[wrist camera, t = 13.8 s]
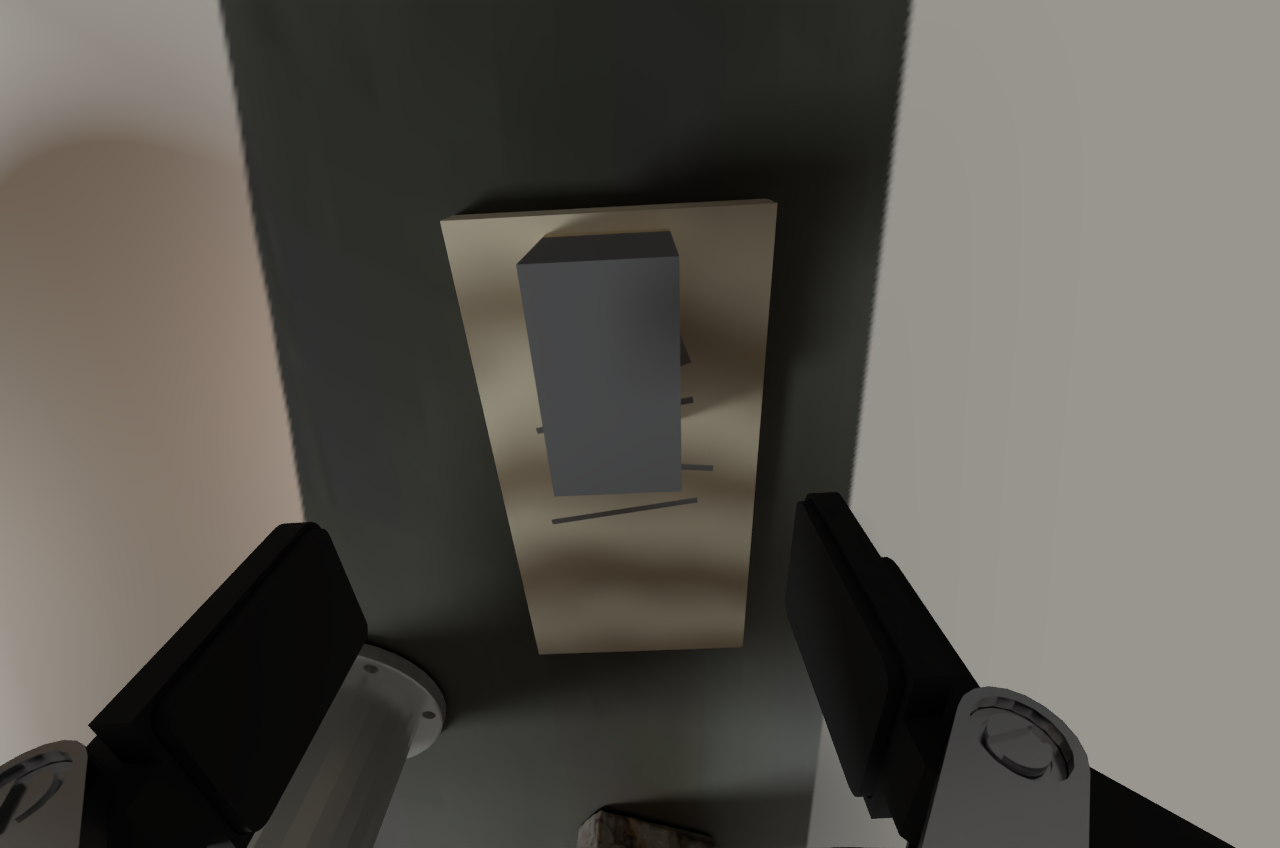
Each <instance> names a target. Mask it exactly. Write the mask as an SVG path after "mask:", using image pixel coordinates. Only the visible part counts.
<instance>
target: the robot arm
mask: <svg viewBox="0 0 1280 848" xmlns="http://www.w3.org/2000/svg"><path fill="white" fill-rule="evenodd" d="M786 610H787V615H788V618H789V621H790V624H791V627H792V630H793V632H794V635H795V638H796V641H797V644H798V646H799V649H800V652H801V655H802V657H803V660H804V663H805V666H806V669H807V671H808V674H809V677H810V680H811V683H812V685H813V688H814V691H815V694H816V696H817V699H818V702H819V705H820V708H821V710H822V713H823V716H824V719H825V721H826V724H827V727H828V730H829V732H830V735H831V738H832V741H833V744H834V746H835V749H836V752H837V755H838V757H839V760H840V763H841V766H842V769H843V771H844V774H845V777H846V780H847V783H848V785H849V788H850V789H851V792H852V793H853V795H854V796H855V797H862V796H863V797H864V800H865V802H866V806H867V808H868V811H869V814H870V816H871V819H877V818H893V820H894V823H895V825H896V828H897V830H898V833H899V835H900V836H901V837H903V838H904V839H905V840H907V845H906V848H1235V847H1233V846H1232V845H1230V844H1228V843H1226V842H1224V841H1222V840H1221V839H1219V838H1217V837H1215V836H1213V835H1212V834H1210V833H1208V832H1206V831H1204V830H1203V829H1201V828H1199V827H1197V826H1195V825H1194V824H1192V823H1190V822H1188V821H1186V820H1185V819H1183V818H1181V817H1179V816H1177V815H1176V814H1174V813H1172V812H1170V811H1168V810H1167V809H1165V808H1163V807H1161V806H1159V805H1158V804H1155V803H1154V802H1152V801H1150V800H1148V799H1147V798H1145V797H1143V796H1141V795H1140V794H1138V793H1136V792H1134V791H1132V790H1130V789H1129V788H1127V787H1125V786H1123V785H1121V784H1120V783H1118V782H1116V781H1114V780H1112V779H1111V778H1109V777H1107V776H1105V775H1103V774H1101V773H1100V772H1098V771H1096V770H1094V769H1093V768H1091V767H1089V763H1088V758H1087V754H1086V753H1085V751H1084V749H1083V747H1082V745H1081V743H1080V742H1079V740H1078V738H1077V737H1076V736H1075V734H1074V733H1073V732H1072V731H1071V730H1070V729H1069V728H1068V726H1067V725H1066V724H1065V723H1064V722H1063V721H1062V720H1061V719H1060V718H1058V717H1057V716H1056V715H1055V714H1054V713H1052V712H1051V711H1050V710H1049V709H1047V708H1046V707H1044V706H1043V705H1041V704H1040V703H1038V702H1036V701H1034V700H1032V699H1031V698H1029V697H1027V696H1025V695H1022V694H1020V693H1017V692H1014V691H1011V690H1008V689H1004V688H997V687H990V686H989V687H982V688H980V687H979V685H978V684H977V682H976V681H975V679H974V678H973V676H972V675H971V673H970V672H969V670H968V669H967V668H966V666H965V664H964V663H963V661H962V660H961V659H960V657H959V656H958V654H957V653H956V651H955V650H954V648H953V647H952V645H951V644H950V642H949V641H948V639H947V638H946V636H945V635H944V634H943V632H942V631H941V629H940V628H939V626H938V625H937V623H936V622H935V620H934V619H933V617H932V616H931V614H930V613H929V611H928V610H927V609H926V607H925V605H924V604H923V603H922V601H921V600H920V598H919V597H918V595H917V593H916V592H915V591H914V589H913V588H912V586H911V585H910V583H909V582H908V580H907V579H906V577H905V576H904V574H903V573H902V571H901V570H900V568H899V567H898V566H897V565H896V563H895V562H894V561H893V560H892V559H890V558H888V557H881V556H880V555H879V553H878V552H877V550H876V549H875V547H874V546H873V544H872V543H871V541H870V539H869V538H868V536H867V535H866V533H865V532H864V530H863V529H862V527H861V526H860V524H859V523H858V521H857V519H856V518H855V516H854V515H853V513H852V512H851V510H850V509H849V507H848V505H847V504H846V502H845V501H844V499H843V498H842V496H841V495H840V494H839V493H837V492H828V493H810V494H808V495H807V496H806V499H805V501H799V502H798V503H797V506H796V514H795V522H794V531H793V540H792V548H791V557H790V566H789V574H788V583H787V592H786ZM367 632H368V627H367V622H366V620H365V617H364V615H363V613H362V610H361V608H360V606H359V603H358V601H357V599H356V596H355V594H354V592H353V589H352V587H351V584H350V582H349V580H348V577H347V575H346V573H345V570H344V568H343V566H342V563H341V561H340V559H339V556H338V554H337V552H336V549H335V547H334V545H333V542H332V540H331V538H330V535H329V533H328V532H327V531H326V530H325V529H321V528H320V526H319V525H318V524H316V523H314V522H303V523H287V524H281V525H279V526H278V527H276V528H275V529H274V530H273V531H272V532H271V533H270V534H269V535H268V536H267V537H266V538H265V540H264V541H263V542H262V543H261V544H260V545H259V546H258V547H257V548H256V549H255V550H254V551H253V552H252V553H251V554H250V555H249V556H248V558H247V559H246V560H245V561H244V562H243V563H242V564H241V565H240V566H239V567H238V568H237V569H236V570H235V571H234V572H233V573H232V574H231V575H230V576H229V578H228V579H227V580H226V581H225V582H224V583H223V584H222V585H221V586H220V587H219V588H218V589H217V590H216V591H215V592H214V593H213V594H212V595H211V596H210V597H209V598H208V600H207V601H206V602H205V603H204V604H203V605H202V606H201V607H200V608H199V609H198V610H197V611H196V612H195V613H194V614H193V615H192V616H191V617H190V619H189V620H188V621H187V622H186V623H185V624H184V625H183V626H182V627H181V628H180V629H179V630H178V631H177V632H176V633H175V634H174V635H173V636H172V637H171V638H170V640H169V641H168V642H167V643H166V644H165V645H164V646H163V647H162V648H161V649H160V650H159V651H158V652H157V653H156V654H155V655H154V656H153V657H152V658H151V659H150V661H149V662H148V663H147V664H146V665H145V666H144V667H143V668H142V669H141V670H140V671H139V672H138V673H137V674H136V675H135V676H134V677H133V678H132V679H131V681H130V682H129V683H128V684H127V685H126V686H125V687H124V688H123V689H122V690H121V691H120V692H119V693H118V694H117V695H116V696H115V697H114V698H113V700H112V701H111V702H110V703H109V704H108V705H107V706H106V707H105V708H104V709H103V710H102V711H101V712H100V713H99V714H98V715H97V716H96V717H95V718H94V720H93V721H92V722H91V723H90V724H89V725H88V726H89V727H90V728H91V729H92V730H93V731H94V732H95V734H96V735H97V736H96V737H95V738H94V739H93V740H92V741H91V742H90V743H89V745H88V746H87V747H86V746H84V745H83V744H81V743H80V742H78V741H72V740H62V741H57V742H53V743H49V744H45V745H42V746H39V747H37V748H35V749H32V750H30V751H28V752H25V753H23V754H21V755H19V756H17V757H15V758H14V759H12V760H10V761H9V762H7V763H5V764H3V765H1V766H0V848H373V846H374V843H375V841H376V838H377V835H378V833H379V830H380V827H381V825H382V822H383V819H384V817H385V814H386V811H387V809H388V806H389V803H390V801H391V798H392V795H393V793H394V790H395V787H396V785H397V782H398V779H399V777H400V774H401V771H402V769H403V766H404V763H405V761H406V759H407V758H410V757H413V756H415V755H418V754H419V753H421V752H423V751H424V750H426V749H428V748H429V747H430V746H431V745H432V744H433V743H434V742H435V741H436V740H437V738H438V736H439V734H440V733H441V730H442V727H443V724H444V721H445V717H446V703H445V700H444V697H443V694H442V692H441V691H440V689H439V688H438V686H437V685H436V683H435V682H434V681H433V680H432V679H431V678H430V677H429V676H428V675H427V674H426V673H425V672H424V671H423V670H421V669H420V668H418V667H417V666H416V665H414V664H413V663H412V662H410V661H408V660H406V659H404V658H402V657H400V656H399V655H397V654H395V653H392V652H389V651H387V650H384V649H382V648H379V647H376V646H372V645H368V644H365V640H366V637H367ZM833 848H861V847H833Z"/></svg>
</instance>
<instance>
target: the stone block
mask: <svg viewBox="0 0 1280 848" xmlns="http://www.w3.org/2000/svg"><path fill="white" fill-rule="evenodd" d="M576 848H716V845H715V841H714V840H713V838H711V837H708V836H705V835H702V834H698V833H693V832H689V831H684V830H680V829H676V828H672V827H668V826H664V825H659V824H655V823H650V822H645V821H642V820H640V819H637V818H633V817H625V816H621V815H617V814H613V813H607V812H604V811H602V810H601V811H599V812H598V813H596V814H594V815H592V816H591V817H590V818H589V819H588V820H587V821H585V823H583V824H582V825H581V826H580V828H579V835H578V839H577V845H576Z"/></svg>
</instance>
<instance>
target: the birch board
mask: <svg viewBox="0 0 1280 848" xmlns="http://www.w3.org/2000/svg"><path fill="white" fill-rule="evenodd" d="M776 216H777V203H776V202H774V201H772V200H770V199H768V198H766V199H747V200H729V201H710V202H691V203H673V204H654V205H635V206H617V207H598V208H579V209H561V210H542V211H523V212H505V213H486V214H467V215H454V216H451V217H449V218H446V219H444V220H442V221H440V223H441V227H442V232H443V236H444V240H445V245H446V249H447V253H448V258H449V262H450V267H451V271H452V275H453V280H454V284H455V288H456V293H457V297H458V302H459V306H460V310H461V315H462V319H463V324H464V328H465V332H466V337H467V341H468V345H469V350H470V354H471V359H472V363H473V367H474V372H475V376H476V380H477V385H478V389H479V394H480V398H481V402H482V407H483V411H484V415H485V420H486V424H487V429H488V433H489V437H490V442H491V446H492V451H493V455H494V459H495V464H496V468H497V472H498V477H499V481H500V486H501V490H502V494H503V499H504V503H505V507H506V512H507V516H508V521H509V525H510V529H511V534H512V538H513V543H514V547H515V551H516V556H517V560H518V564H519V569H520V573H521V578H522V582H523V586H524V591H525V595H526V599H527V604H528V608H529V613H530V617H531V621H532V626H533V630H534V635H535V639H536V643H537V648H538V652H539V654H566V653H594V652H623V651H651V650H680V649H708V648H737V647H743V637H744V624H745V612H746V599H747V586H748V573H749V561H750V548H751V535H752V522H753V510H754V497H755V484H756V471H757V459H758V446H759V433H760V420H761V407H762V395H763V382H764V369H765V356H766V344H767V331H768V318H769V305H770V293H771V280H772V267H773V254H774V241H775V229H776ZM664 228H669V229H670V231H671V234H672V237H673V240H674V243H675V246H676V248H677V251H678V254H679V277H680V377H681V476H682V491H677V492H653V493H629V494H605V495H580V496H556V497H554V492H553V486H552V480H551V474H550V468H549V462H548V456H547V450H546V443H545V437H544V431H543V425H542V419H541V413H540V407H539V401H538V395H537V389H536V383H535V377H534V371H533V365H532V359H531V353H530V347H529V341H528V335H527V329H526V323H525V316H524V310H523V304H522V298H521V292H520V286H519V280H518V274H517V268H516V264H517V263H518V262H519V261H520V260H521V259H522V258H523V257H524V256H525V255H526V254H527V253H528V252H529V251H530V250H531V249H532V248H533V247H534V246H535V244H536V243H537V242H538V241H539V240H540V239H541V238H542V237H543V236H544V235H549V234H568V233H587V232H606V231H625V230H644V229H664Z"/></svg>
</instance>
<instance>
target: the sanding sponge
mask: <svg viewBox="0 0 1280 848" xmlns="http://www.w3.org/2000/svg"><path fill="white" fill-rule="evenodd" d="M516 268H517V274H518V280H519V286H520V292H521V298H522V304H523V310H524V316H525V323H526V329H527V335H528V341H529V347H530V353H531V359H532V365H533V371H534V377H535V383H536V389H537V395H538V401H539V407H540V413H541V419H542V425H543V431H544V437H545V443H546V450H547V456H548V462H549V468H550V474H551V480H552V486H553V492H554V497H556V496H580V495H605V494H629V493H653V492H677V491H682V476H681V377H680V277H679V254H678V251H677V248H676V246H675V243H674V240H673V237H672V234H671V231H670V229H669V228H664V229H644V230H625V231H606V232H587V233H568V234H549V235H544V236H543V237H542V238H541V239H540V240H539V241H538V242H537V243H536V244H535V246H534V247H533V248H532V249H531V250H530V251H529V252H528V253H527V254H526V255H525V256H524V257H523V258H522V259H521V260H520V261H519V262H518V263H517V264H516Z"/></svg>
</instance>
